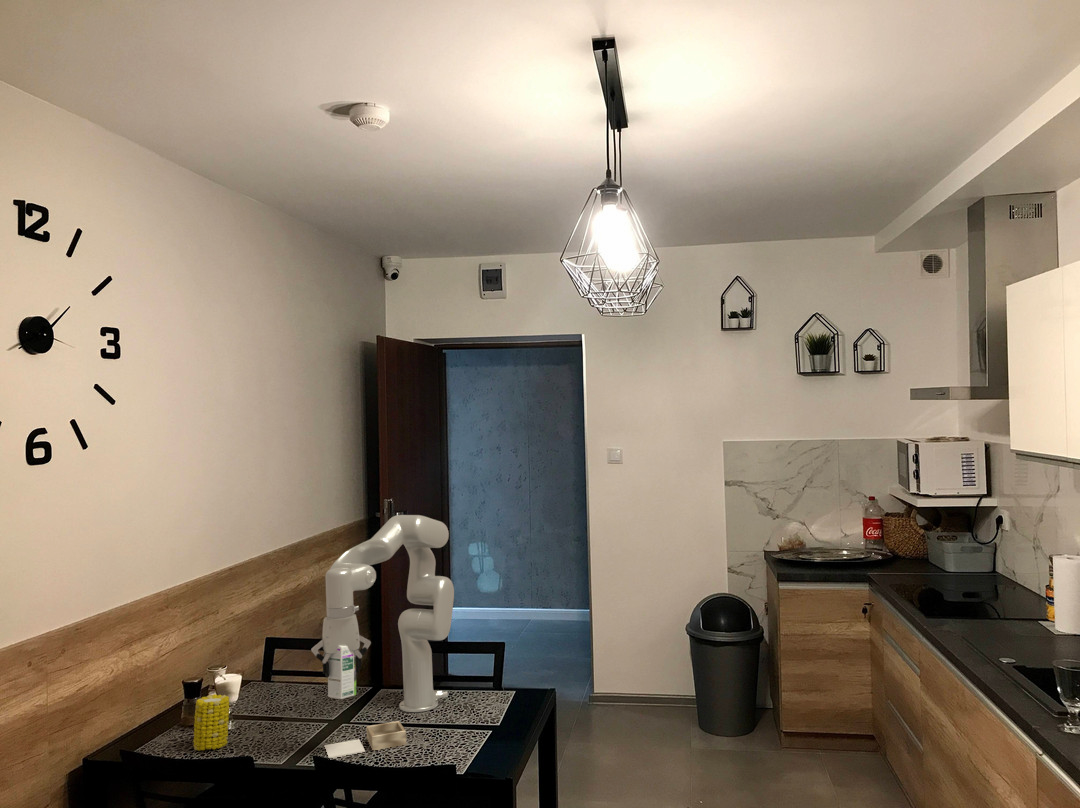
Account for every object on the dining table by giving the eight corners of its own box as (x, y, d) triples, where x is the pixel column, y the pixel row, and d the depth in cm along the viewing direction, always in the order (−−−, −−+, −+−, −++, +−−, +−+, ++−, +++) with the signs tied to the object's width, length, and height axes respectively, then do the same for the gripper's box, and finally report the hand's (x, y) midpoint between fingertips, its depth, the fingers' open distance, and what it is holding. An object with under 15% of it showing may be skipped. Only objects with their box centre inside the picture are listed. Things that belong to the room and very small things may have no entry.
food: (187, 755, 242) (216, 745, 250) (213, 752, 236) (242, 742, 245) (180, 702, 245) (210, 693, 253) (206, 697, 239) (235, 689, 247)
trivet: (359, 741, 243) (359, 739, 243) (365, 753, 234) (365, 750, 234) (324, 747, 240) (324, 745, 240) (328, 759, 230) (328, 757, 230)
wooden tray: (399, 734, 248) (398, 720, 248) (406, 745, 239) (406, 731, 239) (367, 740, 244) (366, 726, 244) (372, 751, 235) (372, 737, 235)
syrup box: (341, 699, 233) (341, 646, 234) (327, 697, 236) (327, 644, 238) (356, 695, 237) (357, 643, 239) (342, 693, 241) (343, 641, 242)
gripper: (368, 606, 245) (370, 666, 244) (307, 613, 238) (309, 675, 238) (373, 611, 238) (375, 672, 237) (310, 618, 231) (312, 682, 231)
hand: (342, 673), depth 238 cm, fingers closed on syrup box, 8 cm apart
